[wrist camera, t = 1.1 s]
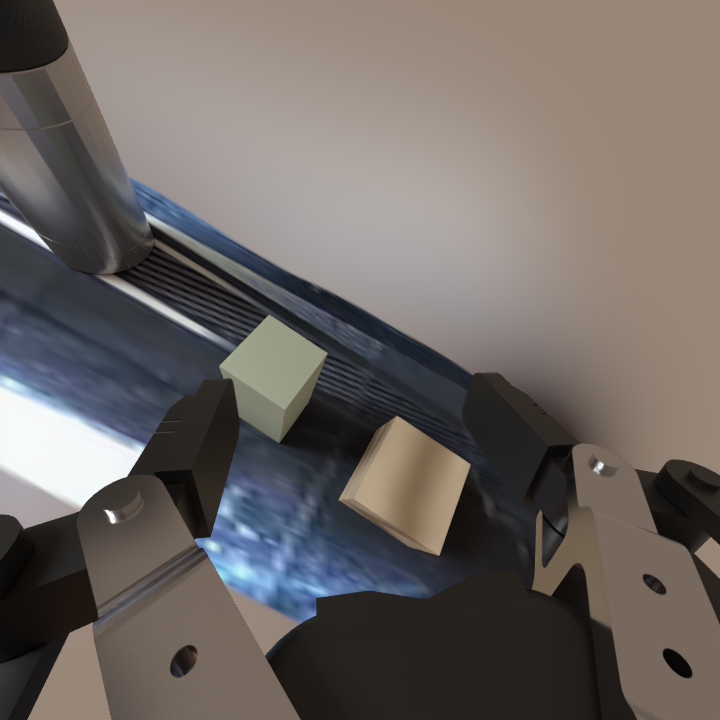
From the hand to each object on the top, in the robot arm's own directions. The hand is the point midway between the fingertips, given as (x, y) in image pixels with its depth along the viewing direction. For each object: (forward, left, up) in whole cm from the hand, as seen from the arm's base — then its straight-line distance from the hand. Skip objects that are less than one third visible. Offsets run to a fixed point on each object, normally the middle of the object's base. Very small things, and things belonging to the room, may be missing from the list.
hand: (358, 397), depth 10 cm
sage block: (-5, +3, -22) cm, 23 cm away
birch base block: (+9, +3, -22) cm, 24 cm away
